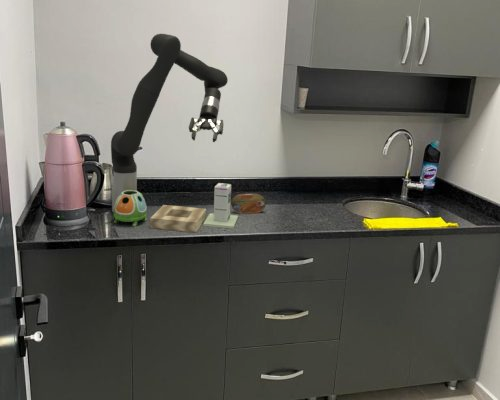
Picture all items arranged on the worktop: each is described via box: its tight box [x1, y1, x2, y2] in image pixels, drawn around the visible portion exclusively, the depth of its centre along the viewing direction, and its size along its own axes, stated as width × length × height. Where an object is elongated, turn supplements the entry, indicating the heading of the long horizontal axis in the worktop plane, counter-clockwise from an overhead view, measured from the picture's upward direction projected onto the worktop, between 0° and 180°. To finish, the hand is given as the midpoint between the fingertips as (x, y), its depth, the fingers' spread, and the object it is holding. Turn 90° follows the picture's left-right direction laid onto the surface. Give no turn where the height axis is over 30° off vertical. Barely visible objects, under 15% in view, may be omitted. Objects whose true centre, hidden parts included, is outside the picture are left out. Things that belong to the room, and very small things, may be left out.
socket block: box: [149, 204, 207, 233], centre depth 199 cm, size 18×18×4 cm
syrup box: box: [213, 182, 232, 222], centre depth 202 cm, size 6×6×14 cm
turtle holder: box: [113, 190, 148, 227], centre depth 199 cm, size 12×18×12 cm
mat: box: [202, 212, 239, 230], centre depth 204 cm, size 12×14×1 cm
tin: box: [231, 193, 267, 215], centre depth 217 cm, size 15×3×8 cm, turn 105°
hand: (203, 140), depth 209 cm, fingers open, 8 cm apart
